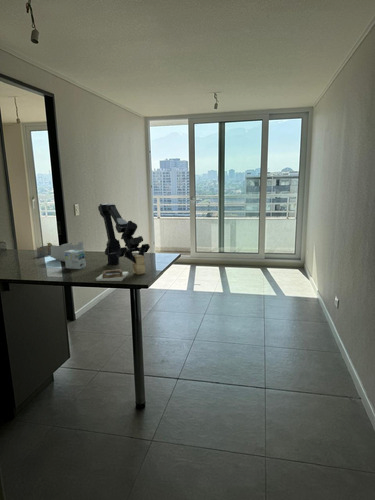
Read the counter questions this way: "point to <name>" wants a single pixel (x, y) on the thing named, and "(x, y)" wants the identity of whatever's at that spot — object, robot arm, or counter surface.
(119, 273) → the socket frame
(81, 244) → the grey angular block
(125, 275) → the base board
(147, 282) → the counter surface
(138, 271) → the maple pillar
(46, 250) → the ruin model on sheet
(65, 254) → the light bulb box
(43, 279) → the counter surface
